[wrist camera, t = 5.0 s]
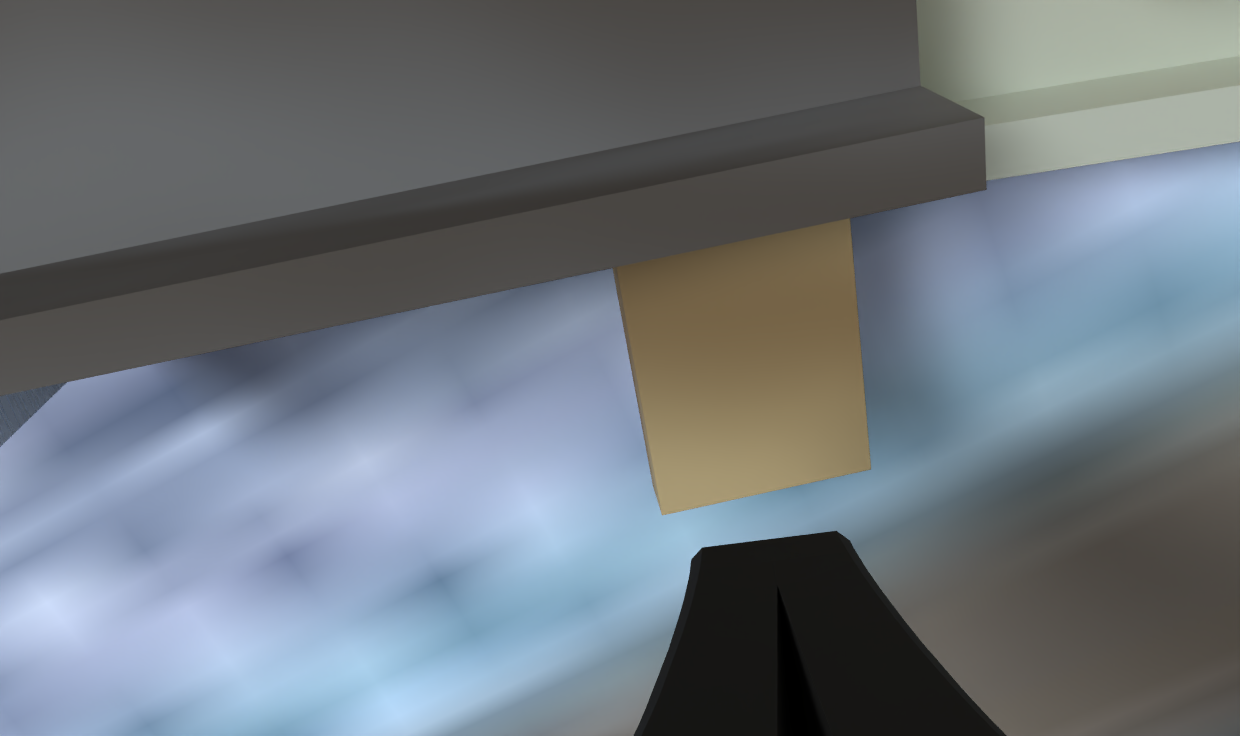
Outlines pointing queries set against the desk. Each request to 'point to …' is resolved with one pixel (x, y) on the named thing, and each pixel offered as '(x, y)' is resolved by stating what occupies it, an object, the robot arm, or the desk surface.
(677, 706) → the robot arm
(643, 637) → the desk surface
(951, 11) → the tray
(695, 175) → the chute lever
